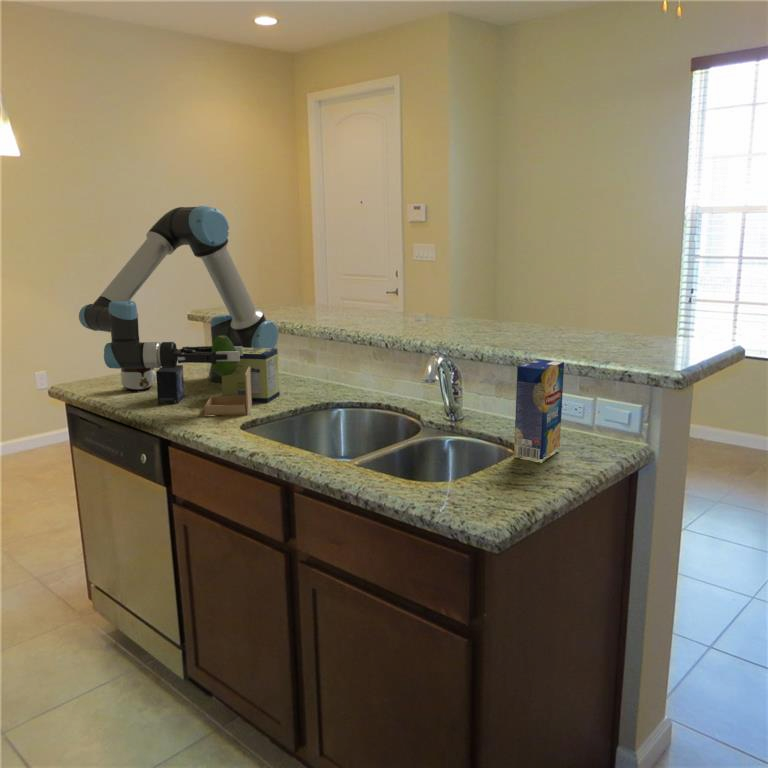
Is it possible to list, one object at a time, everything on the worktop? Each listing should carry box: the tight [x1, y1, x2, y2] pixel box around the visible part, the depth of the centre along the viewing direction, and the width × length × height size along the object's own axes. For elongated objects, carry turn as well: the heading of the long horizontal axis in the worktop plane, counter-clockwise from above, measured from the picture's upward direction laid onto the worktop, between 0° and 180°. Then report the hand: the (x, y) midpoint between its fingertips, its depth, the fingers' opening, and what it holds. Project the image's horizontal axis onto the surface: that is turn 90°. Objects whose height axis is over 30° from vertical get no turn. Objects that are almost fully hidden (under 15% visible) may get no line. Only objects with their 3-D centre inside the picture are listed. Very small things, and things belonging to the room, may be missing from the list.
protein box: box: [221, 347, 281, 404], centre depth 223 cm, size 10×16×16 cm
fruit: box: [210, 335, 238, 376], centre depth 206 cm, size 8×8×12 cm
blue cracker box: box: [513, 358, 565, 459], centre depth 165 cm, size 7×11×22 cm, turn 144°
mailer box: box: [203, 367, 253, 416], centre depth 208 cm, size 12×12×12 cm
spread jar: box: [120, 368, 157, 393], centre depth 238 cm, size 12×11×12 cm
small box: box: [155, 364, 186, 404], centre depth 222 cm, size 11×6×10 cm, turn 4°
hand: (241, 353), depth 206 cm, fingers closed on fruit, 8 cm apart
